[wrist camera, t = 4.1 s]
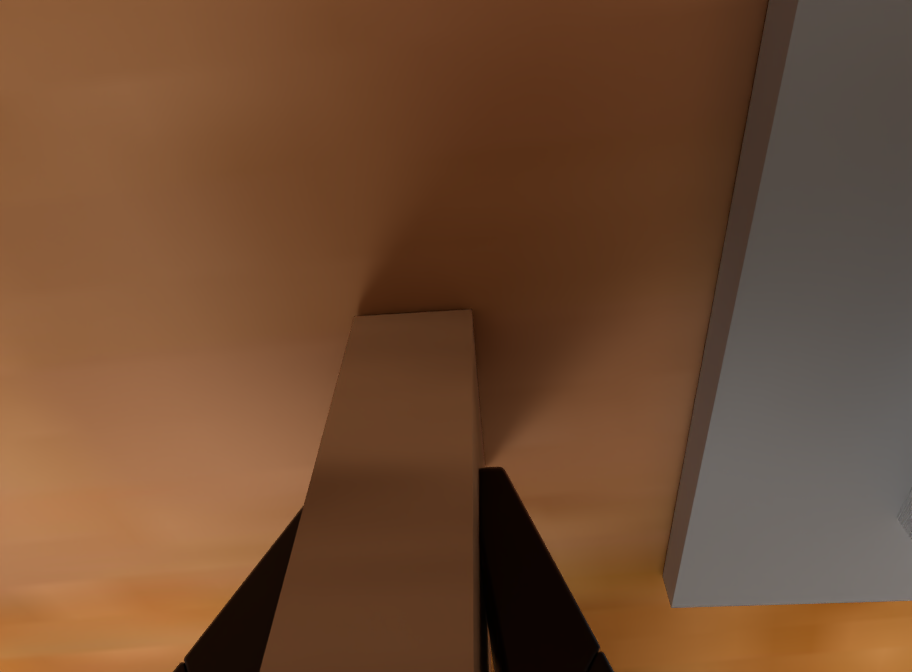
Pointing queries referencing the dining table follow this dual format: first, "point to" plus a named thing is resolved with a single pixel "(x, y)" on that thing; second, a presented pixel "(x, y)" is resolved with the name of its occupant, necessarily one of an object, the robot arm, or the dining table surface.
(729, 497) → the slate board
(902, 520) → the white hollow frame
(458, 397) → the wooden block
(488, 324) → the dining table surface
